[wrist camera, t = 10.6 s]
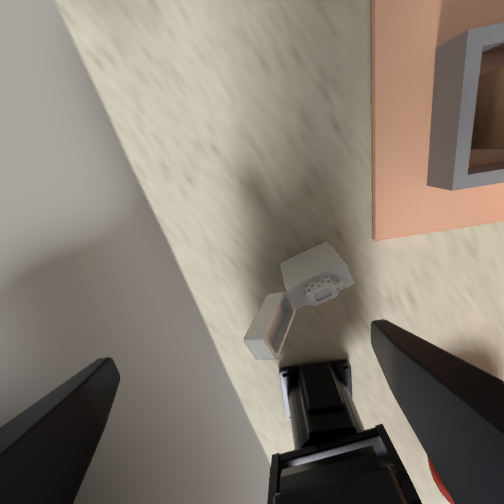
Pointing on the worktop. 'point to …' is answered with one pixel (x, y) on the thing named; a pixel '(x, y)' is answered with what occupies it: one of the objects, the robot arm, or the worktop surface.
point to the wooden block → (489, 112)
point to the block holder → (432, 115)
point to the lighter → (296, 297)
